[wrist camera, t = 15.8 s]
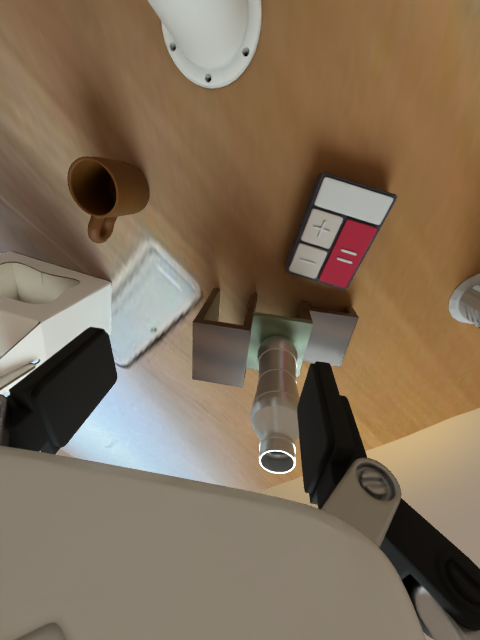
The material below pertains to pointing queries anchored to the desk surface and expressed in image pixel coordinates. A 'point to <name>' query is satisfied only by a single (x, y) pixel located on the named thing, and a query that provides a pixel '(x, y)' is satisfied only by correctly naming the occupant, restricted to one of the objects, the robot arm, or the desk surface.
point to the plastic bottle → (276, 404)
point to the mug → (106, 192)
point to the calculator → (337, 230)
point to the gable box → (44, 312)
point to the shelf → (244, 340)
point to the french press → (466, 301)
